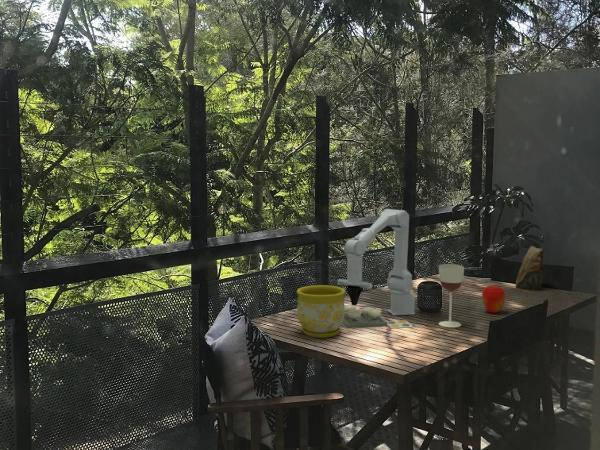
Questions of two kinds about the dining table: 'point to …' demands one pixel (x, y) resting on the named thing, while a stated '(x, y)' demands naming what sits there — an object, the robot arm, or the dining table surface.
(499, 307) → the apple
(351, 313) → the button
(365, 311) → the button
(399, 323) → the card
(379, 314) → the button
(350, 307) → the button
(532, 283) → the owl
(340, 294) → the flowerpot
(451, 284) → the wineglass
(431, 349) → the dining table surface
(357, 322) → the button board
